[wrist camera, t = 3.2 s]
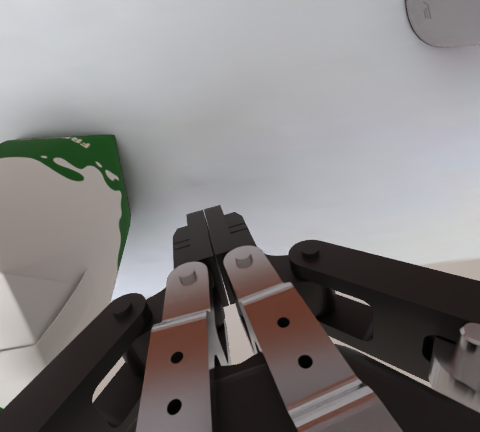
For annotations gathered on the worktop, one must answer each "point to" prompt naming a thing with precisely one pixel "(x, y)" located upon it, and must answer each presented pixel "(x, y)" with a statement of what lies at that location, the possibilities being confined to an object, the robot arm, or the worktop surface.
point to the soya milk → (55, 247)
